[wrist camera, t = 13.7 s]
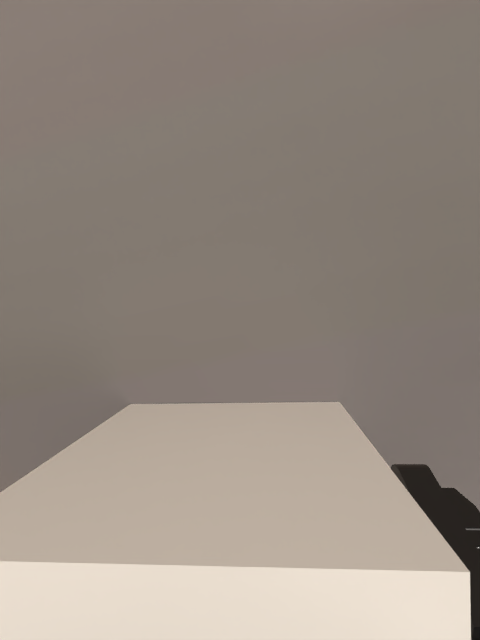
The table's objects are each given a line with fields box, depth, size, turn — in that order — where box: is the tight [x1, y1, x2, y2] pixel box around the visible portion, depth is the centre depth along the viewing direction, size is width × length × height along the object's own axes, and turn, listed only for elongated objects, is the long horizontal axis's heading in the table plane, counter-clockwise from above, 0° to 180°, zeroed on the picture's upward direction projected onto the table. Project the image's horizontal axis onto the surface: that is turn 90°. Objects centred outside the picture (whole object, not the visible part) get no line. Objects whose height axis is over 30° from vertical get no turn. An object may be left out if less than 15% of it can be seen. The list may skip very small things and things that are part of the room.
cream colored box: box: [0, 402, 471, 640], centre depth 8 cm, size 7×7×8 cm
